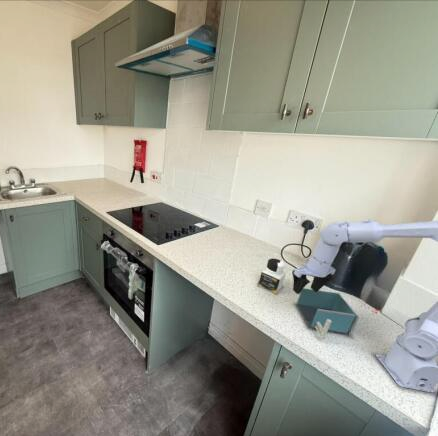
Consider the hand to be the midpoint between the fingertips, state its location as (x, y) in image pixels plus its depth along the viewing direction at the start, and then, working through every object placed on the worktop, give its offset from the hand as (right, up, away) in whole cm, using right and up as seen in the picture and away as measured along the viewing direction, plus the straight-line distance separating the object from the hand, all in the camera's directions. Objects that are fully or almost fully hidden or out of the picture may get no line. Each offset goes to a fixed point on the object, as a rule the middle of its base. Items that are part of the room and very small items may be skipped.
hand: (304, 290), depth 83 cm
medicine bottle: (-3, -4, +19) cm, 19 cm away
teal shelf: (+5, -12, -6) cm, 15 cm away
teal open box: (+7, -10, +2) cm, 13 cm away
